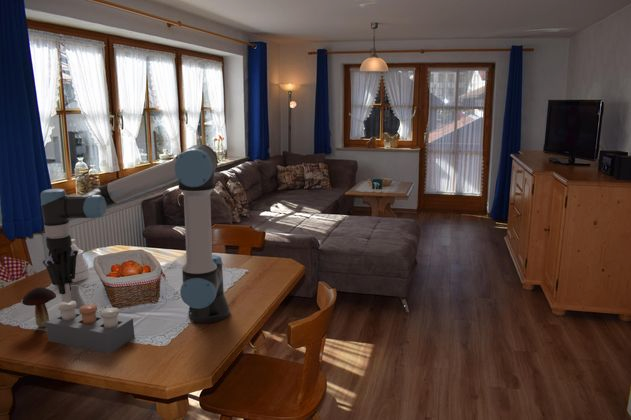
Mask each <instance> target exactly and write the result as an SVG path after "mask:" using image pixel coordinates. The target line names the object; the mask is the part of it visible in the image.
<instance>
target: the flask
mask: <svg viewBox="0 0 631 420" xmlns="http://www.w3.org/2000/svg"><path fill="white" fill-rule="evenodd" d="M79 286H80V285H78V284H73V285H71V291H70V294H71V301H75V302H76V305H77V306H76V307H75V309H79V308H80V307H81V306H84V305H87V304H86V302H85V301H84V299H83V297H82V296H81V294H80V291H79Z"/></svg>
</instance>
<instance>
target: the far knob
mask: <svg viewBox="0 0 631 420" xmlns="http://www.w3.org/2000/svg"><path fill="white" fill-rule="evenodd" d="M76 306H77V305H76V302H75V301H71V302H69V303H66V302H62V301H61V303H59V304H58V310H59V311H60V312H61V314H62V320H66V321H70V320H72V319H74V318H76V312H75V307H76ZM61 314H60V315H61Z"/></svg>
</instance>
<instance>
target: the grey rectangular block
mask: <svg viewBox="0 0 631 420" xmlns="http://www.w3.org/2000/svg"><path fill="white" fill-rule="evenodd" d="M75 312H76V318H74V319H72V320H70V321H66V320H62V314H60V315H58V316H56V317H53V318H52V319H49V321H48V322H46V332H47V338H48V342H50V343H55V344H61V345H65V346H70V347H71V346H72V347H76V348H80V349H86V350H91V351H95V352H100V353H106V354H112V353H113V352H115V351H116V350H118V349H119V348H121V347H122V346H124V345H125V344H126V343H128V342H130V341H131V340H132V339H134V338H135V327H134V326H135V325H134V319H133V317H129V316H128V317H126V316H121V315H117V318H118V325H117V326H116V327H114V328H112V329H110V328H105V327H104V321H103V318H102V317H101V313H100V312H98V311H96V318H97V321H96V322H94V323H92V324H91V325H88V324H83V321H82V314H80V313H79V309H75Z"/></svg>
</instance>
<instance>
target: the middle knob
mask: <svg viewBox="0 0 631 420" xmlns="http://www.w3.org/2000/svg"><path fill="white" fill-rule="evenodd" d="M96 312H98V305H97V304H95V303H90V304H86V305H84V306H81V307H80V308H79V313H80V314H82V321H83V324H88V325H91V324H92V323H94V322H96V321H97V318H96Z"/></svg>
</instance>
